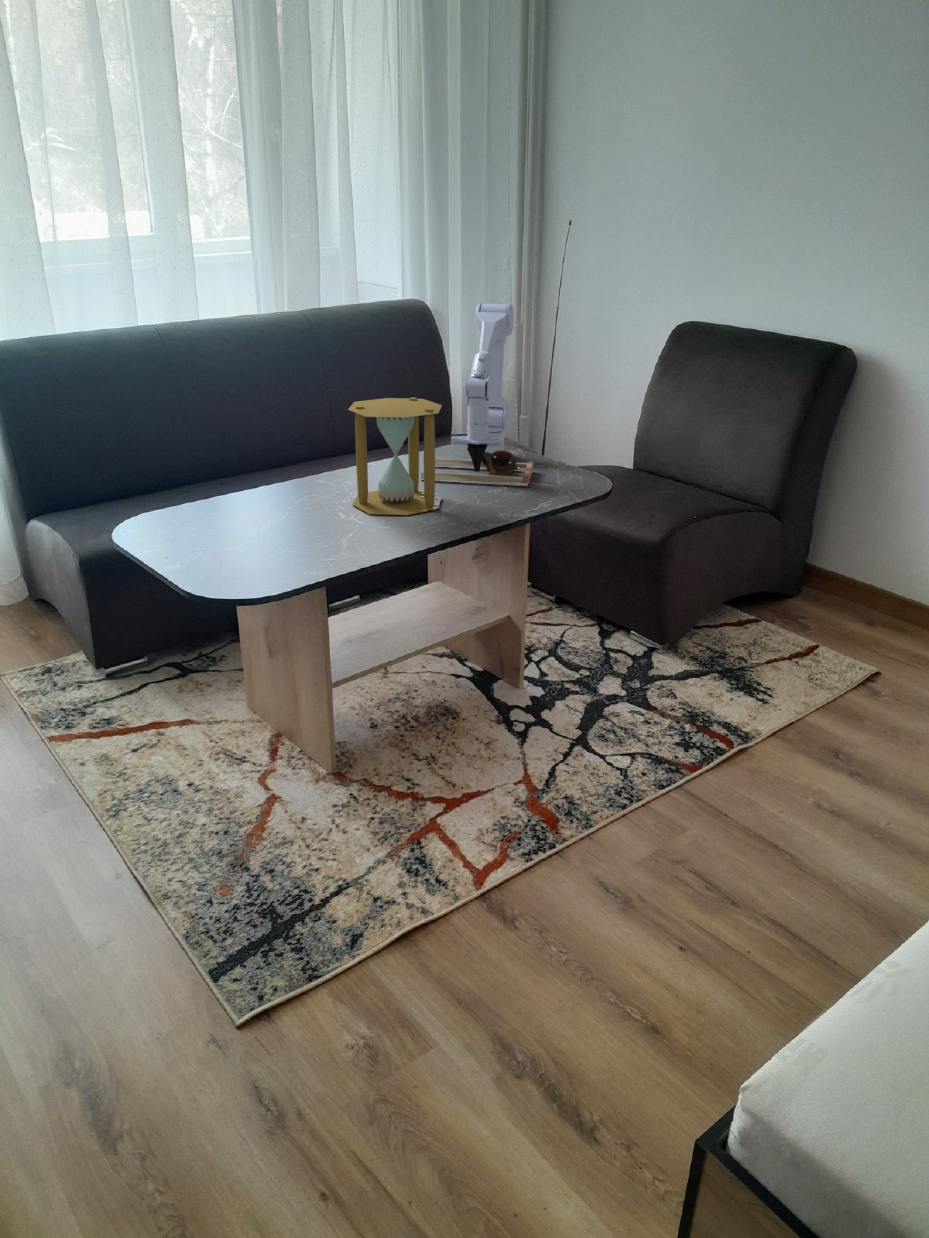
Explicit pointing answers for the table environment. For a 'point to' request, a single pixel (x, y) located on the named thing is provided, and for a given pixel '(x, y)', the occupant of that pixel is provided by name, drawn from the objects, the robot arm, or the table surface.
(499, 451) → the pottery mug
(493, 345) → the robot arm
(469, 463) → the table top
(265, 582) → the table surface
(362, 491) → the hourglass
